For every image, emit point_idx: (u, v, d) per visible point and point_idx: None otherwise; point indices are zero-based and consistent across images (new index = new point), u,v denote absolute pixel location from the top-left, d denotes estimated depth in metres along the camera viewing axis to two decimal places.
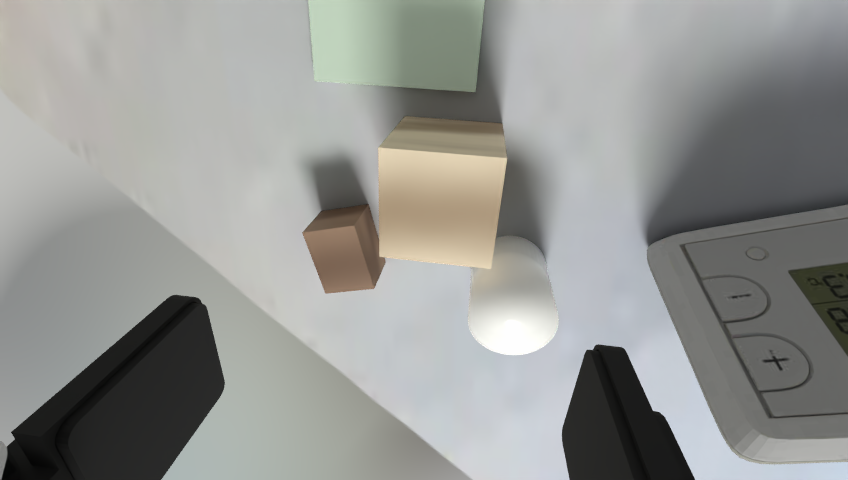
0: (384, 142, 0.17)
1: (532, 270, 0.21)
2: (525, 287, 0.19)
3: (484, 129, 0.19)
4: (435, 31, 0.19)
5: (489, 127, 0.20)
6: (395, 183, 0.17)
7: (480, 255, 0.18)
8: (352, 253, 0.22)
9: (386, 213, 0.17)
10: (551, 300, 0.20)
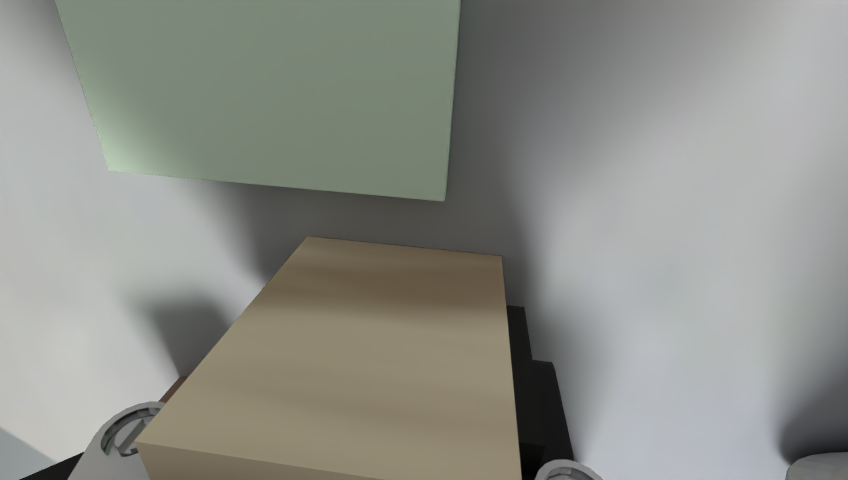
0: (177, 395, 0.06)
1: None
2: None
3: (463, 289, 0.09)
4: (347, 74, 0.08)
5: (474, 278, 0.09)
6: None
7: None
8: None
9: None
10: None
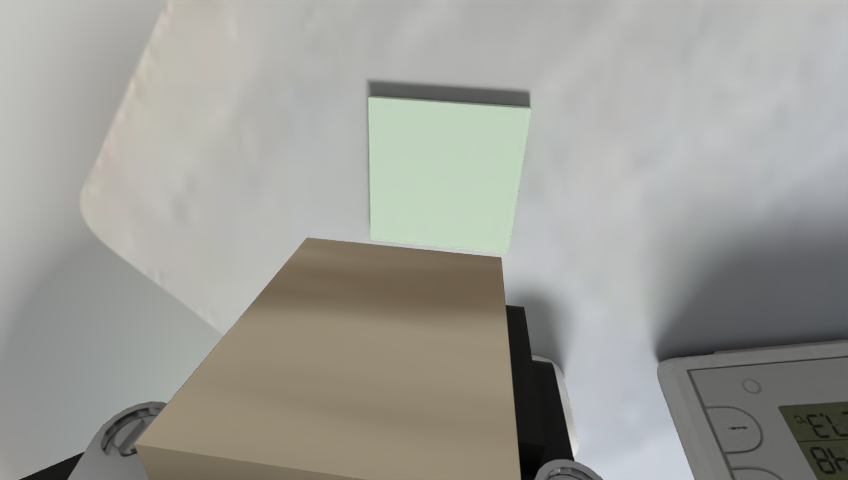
0: (177, 397, 0.06)
1: None
2: None
3: (462, 291, 0.09)
4: (476, 210, 0.22)
5: (474, 280, 0.09)
6: None
7: None
8: None
9: None
10: (572, 429, 0.23)
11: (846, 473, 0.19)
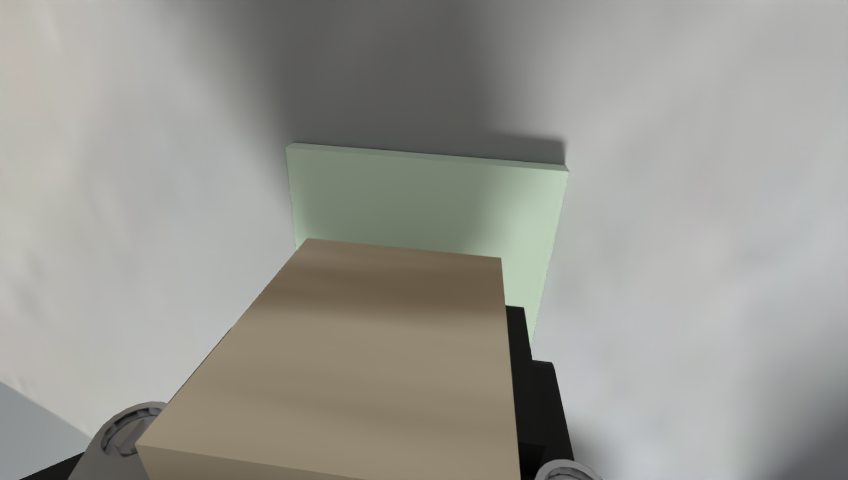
0: (178, 398, 0.06)
1: None
2: None
3: (462, 291, 0.09)
4: None
5: (474, 280, 0.09)
6: None
7: None
8: None
9: None
10: None
11: None
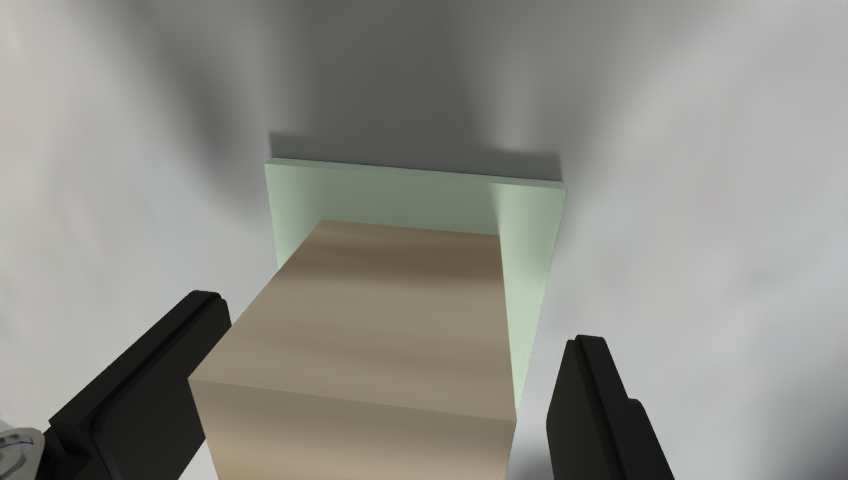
0: (220, 345, 0.07)
1: None
2: None
3: (464, 263, 0.10)
4: None
5: (475, 254, 0.10)
6: (247, 445, 0.07)
7: None
8: None
9: None
10: None
11: None
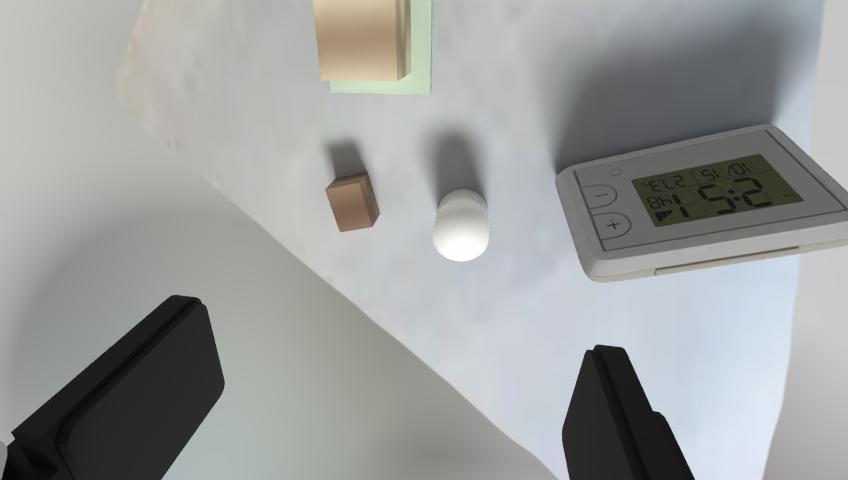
0: None
1: (472, 204, 0.33)
2: (465, 212, 0.31)
3: None
4: None
5: None
6: (326, 17, 0.25)
7: (388, 70, 0.26)
8: (358, 202, 0.34)
9: (322, 42, 0.25)
10: (482, 220, 0.31)
11: (667, 206, 0.27)
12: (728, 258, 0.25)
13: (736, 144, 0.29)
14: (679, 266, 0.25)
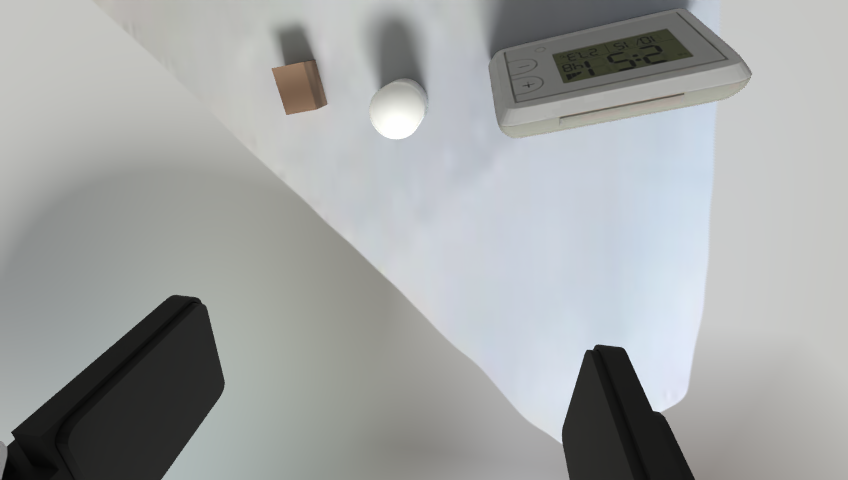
0: None
1: (408, 84, 0.35)
2: (399, 86, 0.33)
3: None
4: None
5: None
6: None
7: None
8: (302, 82, 0.36)
9: None
10: (415, 95, 0.34)
11: (578, 69, 0.29)
12: (623, 105, 0.27)
13: (648, 23, 0.31)
14: (580, 114, 0.27)
